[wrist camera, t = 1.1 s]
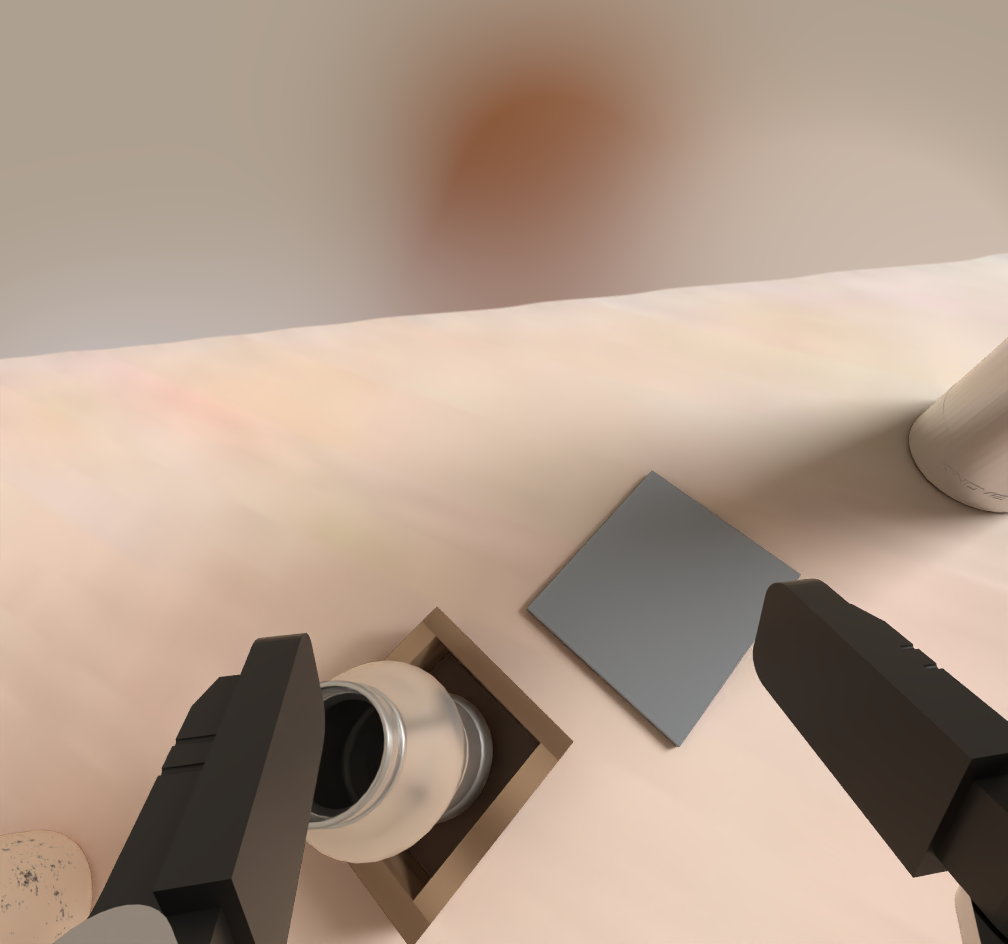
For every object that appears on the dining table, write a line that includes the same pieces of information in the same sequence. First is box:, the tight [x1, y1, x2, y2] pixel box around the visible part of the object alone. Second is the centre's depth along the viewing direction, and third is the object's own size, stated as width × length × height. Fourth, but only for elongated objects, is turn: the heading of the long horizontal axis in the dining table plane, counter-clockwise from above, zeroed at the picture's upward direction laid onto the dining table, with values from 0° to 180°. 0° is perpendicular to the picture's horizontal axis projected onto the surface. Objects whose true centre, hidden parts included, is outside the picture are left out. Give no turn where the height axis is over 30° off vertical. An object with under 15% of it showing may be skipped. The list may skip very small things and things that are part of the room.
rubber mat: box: [527, 471, 801, 747], centre depth 36 cm, size 14×12×1 cm
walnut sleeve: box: [348, 607, 573, 944], centre depth 30 cm, size 11×10×5 cm
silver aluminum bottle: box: [306, 660, 493, 863], centre depth 23 cm, size 6×7×20 cm
